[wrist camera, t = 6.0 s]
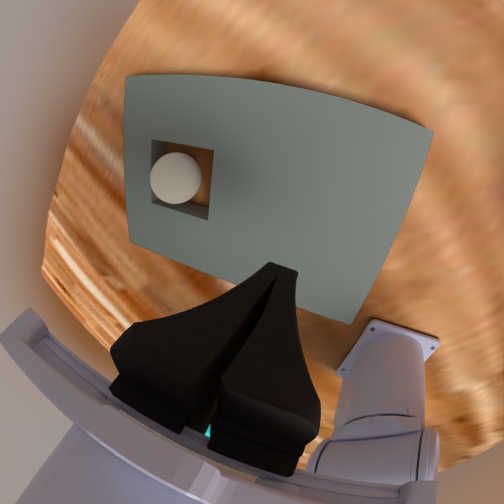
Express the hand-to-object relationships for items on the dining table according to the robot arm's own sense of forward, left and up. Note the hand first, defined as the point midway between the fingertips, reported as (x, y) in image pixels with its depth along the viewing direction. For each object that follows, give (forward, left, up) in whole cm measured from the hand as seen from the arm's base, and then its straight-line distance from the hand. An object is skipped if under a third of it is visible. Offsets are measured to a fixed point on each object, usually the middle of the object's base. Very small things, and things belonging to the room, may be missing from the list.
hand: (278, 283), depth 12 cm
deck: (0, +5, -9) cm, 11 cm away
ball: (0, +10, -7) cm, 13 cm away
